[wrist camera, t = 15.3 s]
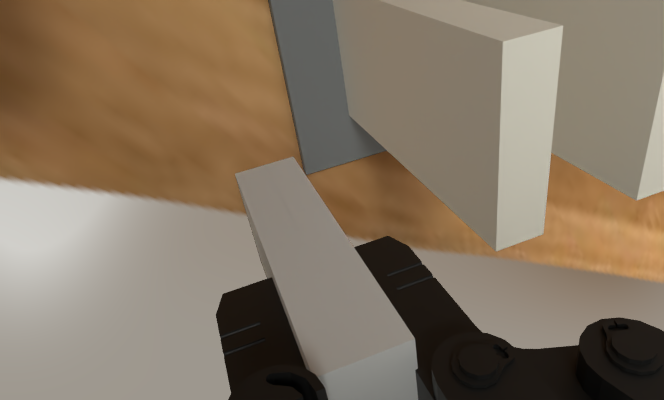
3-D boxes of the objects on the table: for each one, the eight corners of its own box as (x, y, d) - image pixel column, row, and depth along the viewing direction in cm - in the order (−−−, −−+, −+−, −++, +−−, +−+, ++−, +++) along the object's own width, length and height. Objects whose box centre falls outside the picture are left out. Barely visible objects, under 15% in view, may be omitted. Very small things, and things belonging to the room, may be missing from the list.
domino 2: (439, 90, 25) (636, 200, 15) (435, -39, 22) (680, -6, 12) (467, 82, 25) (678, 185, 15) (467, -47, 22) (731, -19, 12)
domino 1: (349, 115, 24) (495, 251, 14) (330, -16, 21) (502, 41, 11) (379, 106, 24) (543, 234, 14) (365, -24, 21) (563, 25, 11)
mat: (303, 170, 25) (306, 174, 25) (253, -72, 19) (255, -72, 19) (715, 46, 31) (722, 48, 30) (772, -172, 25) (783, -174, 24)
